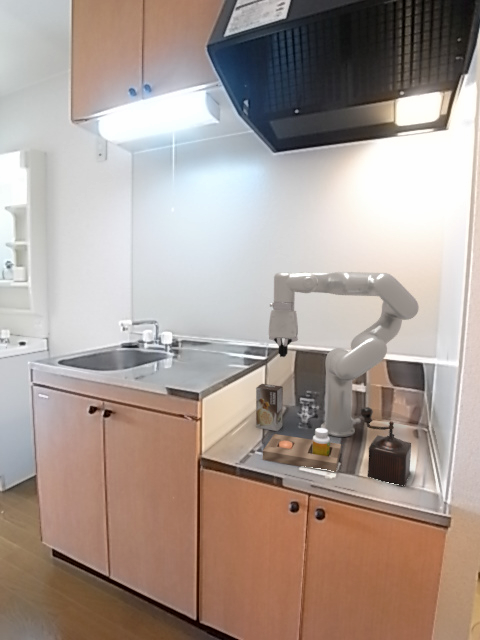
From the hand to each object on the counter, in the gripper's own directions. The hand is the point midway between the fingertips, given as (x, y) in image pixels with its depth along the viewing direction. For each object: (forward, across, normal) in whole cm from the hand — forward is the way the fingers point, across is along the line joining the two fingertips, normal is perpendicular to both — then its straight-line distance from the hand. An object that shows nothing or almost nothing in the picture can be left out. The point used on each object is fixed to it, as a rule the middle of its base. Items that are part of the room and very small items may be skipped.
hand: (283, 356), depth 142 cm
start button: (+29, +6, -17) cm, 34 cm away
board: (+29, +11, -17) cm, 36 cm away
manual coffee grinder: (+29, +35, -18) cm, 50 cm away
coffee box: (+29, -6, +3) cm, 30 cm away
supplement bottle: (+29, +17, -17) cm, 38 cm away
